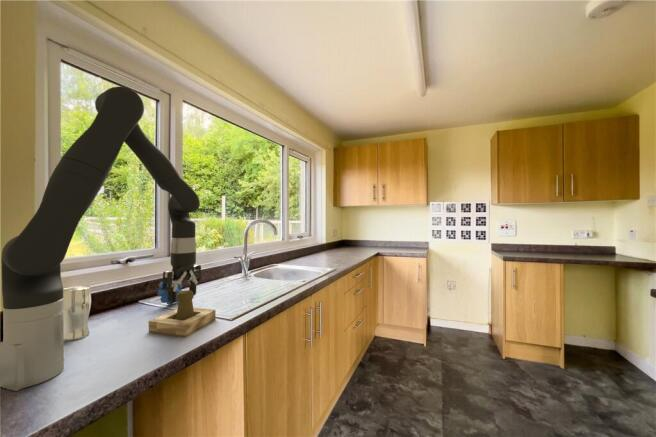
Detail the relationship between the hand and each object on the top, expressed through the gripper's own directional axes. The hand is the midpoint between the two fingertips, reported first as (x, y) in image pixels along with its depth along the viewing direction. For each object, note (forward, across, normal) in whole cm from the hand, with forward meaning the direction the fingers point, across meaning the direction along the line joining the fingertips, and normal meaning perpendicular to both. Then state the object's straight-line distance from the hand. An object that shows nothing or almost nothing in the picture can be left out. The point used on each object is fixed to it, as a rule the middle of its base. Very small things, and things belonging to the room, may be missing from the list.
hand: (183, 298), depth 88 cm
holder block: (+9, 0, 0) cm, 9 cm away
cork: (+9, +1, 0) cm, 9 cm away
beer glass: (+10, -15, +26) cm, 31 cm away
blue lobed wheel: (+9, +16, +21) cm, 28 cm away
